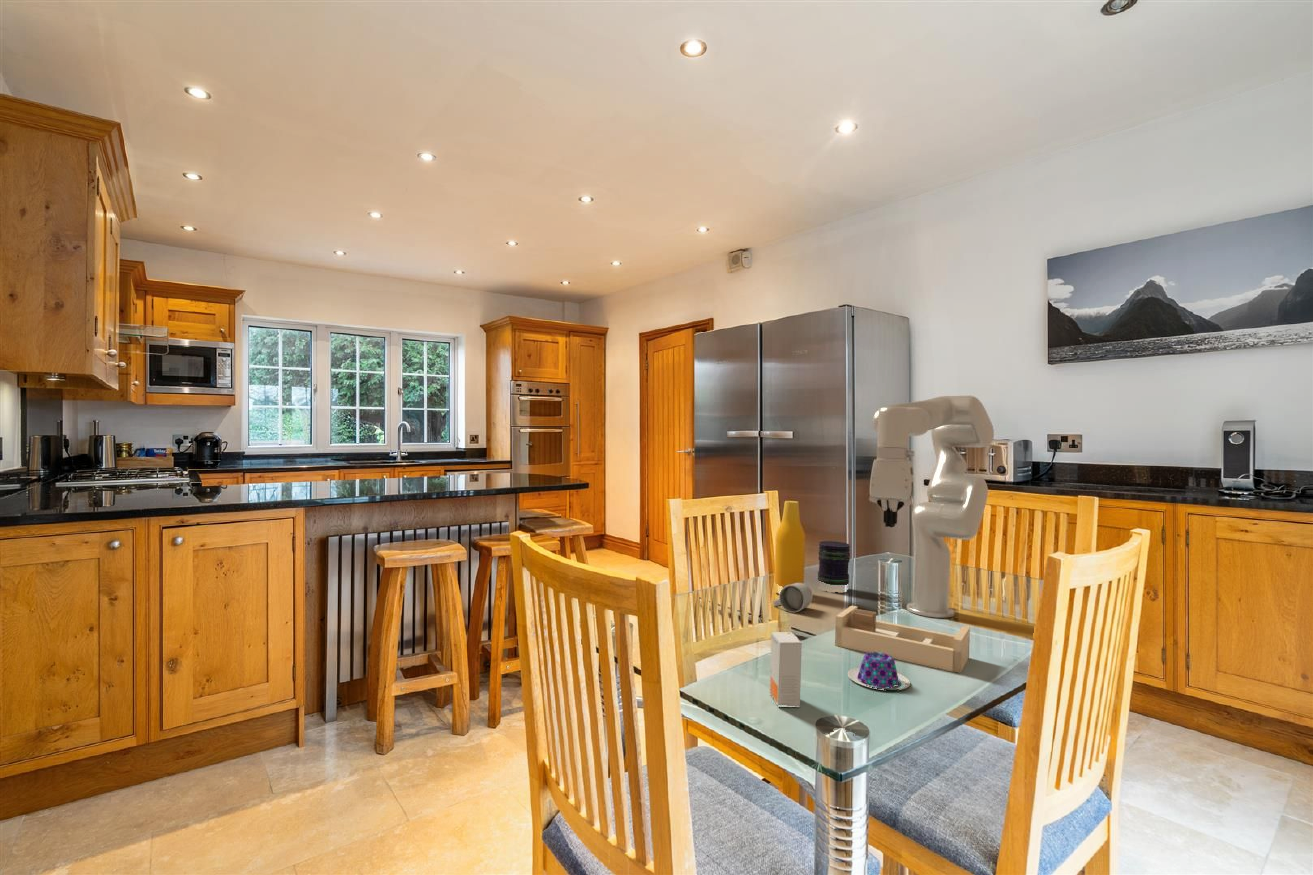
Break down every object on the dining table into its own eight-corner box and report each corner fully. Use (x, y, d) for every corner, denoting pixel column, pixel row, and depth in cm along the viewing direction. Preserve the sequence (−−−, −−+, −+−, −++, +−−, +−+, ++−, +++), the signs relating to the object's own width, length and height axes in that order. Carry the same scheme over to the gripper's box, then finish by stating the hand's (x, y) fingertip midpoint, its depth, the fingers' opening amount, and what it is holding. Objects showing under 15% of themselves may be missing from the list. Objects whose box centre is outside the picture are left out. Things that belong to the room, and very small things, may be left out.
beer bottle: (802, 598, 189) (805, 503, 189) (771, 595, 192) (774, 501, 192) (805, 591, 198) (808, 501, 197) (775, 588, 201) (778, 499, 200)
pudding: (901, 699, 118) (902, 672, 118) (839, 683, 125) (840, 657, 125) (916, 680, 128) (917, 654, 128) (858, 666, 134) (858, 642, 134)
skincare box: (768, 694, 117) (770, 631, 117) (790, 694, 118) (792, 631, 118) (777, 708, 111) (779, 642, 111) (800, 708, 112) (802, 642, 112)
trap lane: (850, 632, 157) (851, 605, 156) (968, 657, 141) (970, 627, 141) (834, 645, 147) (835, 615, 147) (960, 673, 131) (961, 640, 131)
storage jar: (818, 592, 198) (820, 545, 198) (815, 584, 207) (817, 540, 207) (850, 594, 196) (852, 547, 196) (846, 587, 206) (848, 542, 206)
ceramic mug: (814, 608, 178) (814, 581, 178) (804, 614, 171) (804, 587, 171) (779, 602, 184) (779, 577, 184) (768, 608, 177) (768, 582, 177)
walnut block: (856, 627, 151) (857, 608, 151) (875, 630, 149) (876, 612, 149) (851, 631, 148) (852, 613, 148) (871, 635, 145) (871, 616, 145)
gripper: (926, 456, 157) (924, 528, 157) (867, 453, 165) (864, 522, 166) (920, 456, 151) (917, 531, 151) (858, 453, 159) (856, 524, 159)
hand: (890, 526), depth 158 cm, fingers closed
